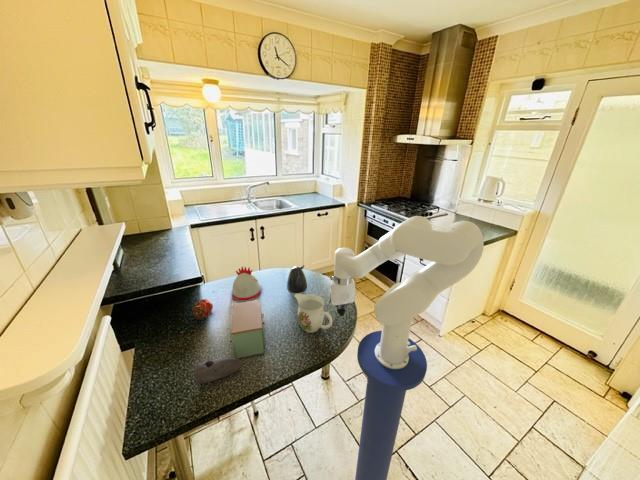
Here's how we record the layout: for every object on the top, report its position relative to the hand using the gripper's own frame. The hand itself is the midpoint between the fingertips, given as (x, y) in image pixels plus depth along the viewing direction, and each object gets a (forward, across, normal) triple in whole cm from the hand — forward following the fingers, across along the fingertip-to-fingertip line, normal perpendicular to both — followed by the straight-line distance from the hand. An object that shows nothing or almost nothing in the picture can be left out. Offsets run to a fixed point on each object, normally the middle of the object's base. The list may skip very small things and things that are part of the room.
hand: (340, 313), depth 110 cm
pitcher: (+5, -12, 0) cm, 13 cm away
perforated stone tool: (+5, -48, -15) cm, 51 cm away
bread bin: (+5, -38, 0) cm, 39 cm away
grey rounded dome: (+6, -40, +32) cm, 51 cm away
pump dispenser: (+5, -14, +26) cm, 30 cm away
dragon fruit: (+6, -58, +19) cm, 62 cm away
